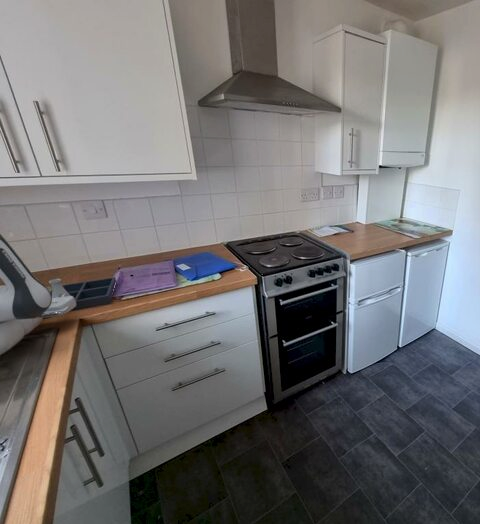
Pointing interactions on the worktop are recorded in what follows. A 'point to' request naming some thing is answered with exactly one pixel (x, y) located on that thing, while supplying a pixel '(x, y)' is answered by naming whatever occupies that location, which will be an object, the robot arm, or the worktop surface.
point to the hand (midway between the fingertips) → (47, 297)
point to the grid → (91, 292)
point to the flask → (57, 288)
